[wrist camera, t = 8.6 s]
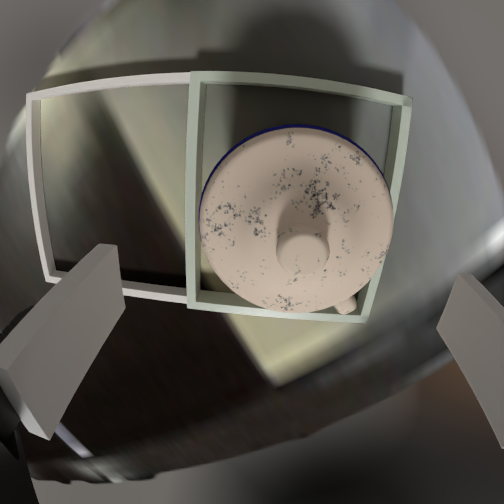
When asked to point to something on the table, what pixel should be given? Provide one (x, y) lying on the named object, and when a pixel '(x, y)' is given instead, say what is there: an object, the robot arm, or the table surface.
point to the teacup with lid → (296, 219)
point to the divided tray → (194, 176)
